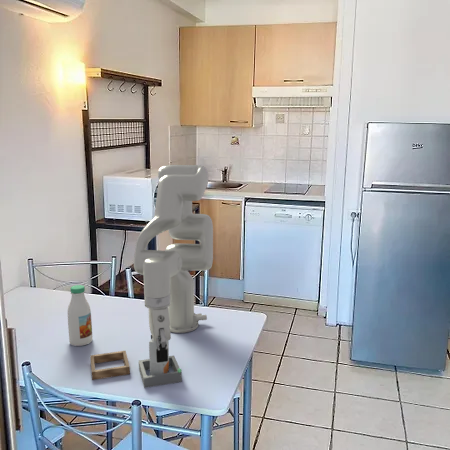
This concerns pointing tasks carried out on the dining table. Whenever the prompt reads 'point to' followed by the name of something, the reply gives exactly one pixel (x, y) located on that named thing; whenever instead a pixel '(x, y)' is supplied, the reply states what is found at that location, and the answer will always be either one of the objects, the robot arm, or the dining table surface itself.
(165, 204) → the robot arm
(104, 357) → the wooden picture frame
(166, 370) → the skincare box
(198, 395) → the dining table surface
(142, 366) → the gray square frame
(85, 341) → the milk bottle
